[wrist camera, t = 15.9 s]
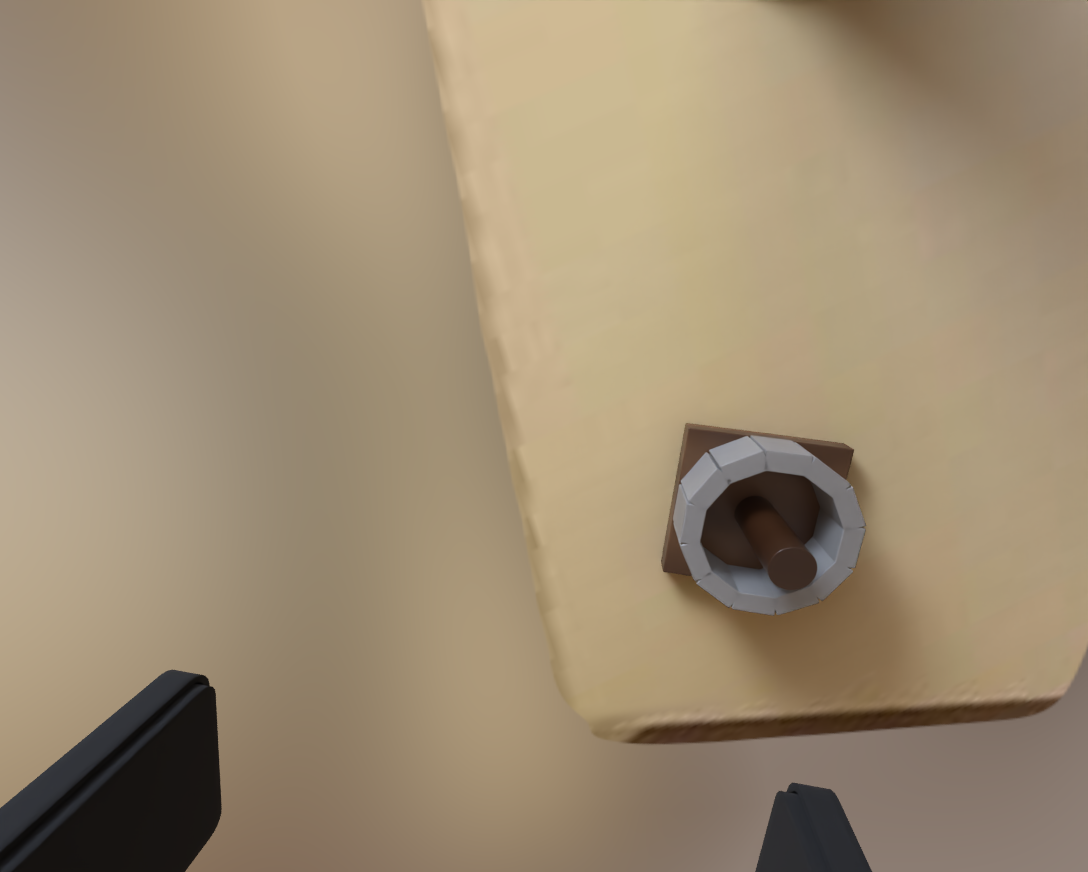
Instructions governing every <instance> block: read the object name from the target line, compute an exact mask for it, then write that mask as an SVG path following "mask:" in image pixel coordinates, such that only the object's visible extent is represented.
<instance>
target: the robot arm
mask: <svg viewBox="0 0 1088 872" xmlns="http://www.w3.org/2000/svg"><path fill="white" fill-rule="evenodd" d="M220 816H221V789H220V770H219V750H218V731H217V712H216V693H215V689H214V688H213V687H210V686H209V681H208V678H207V677H206V676H204V675H199V674H193V673H187V672H182V671H177V670H169V671H166V672H165V673H163V674H162V675H160V676H159V677H158V678H157V679H155V680H154V681H153V682H152V683H150V684H149V685H148V686H147V687H146V688H144V689H143V690H142V691H141V692H140V693H138V694H137V695H136V696H135V697H134V698H132V699H131V700H130V701H129V702H128V703H126V704H125V705H124V706H123V707H122V708H120V709H119V710H118V711H117V712H116V713H114V714H113V715H112V716H111V717H110V718H108V719H107V720H106V721H105V722H104V723H102V724H101V725H100V726H99V727H98V728H96V729H95V730H94V731H93V732H91V733H90V734H89V735H88V736H87V737H86V738H84V739H83V740H82V741H81V742H79V743H78V744H77V745H76V746H75V747H74V748H72V749H71V750H70V751H69V752H67V753H66V754H65V755H64V756H63V757H62V758H60V759H59V760H58V761H57V762H55V763H54V764H53V765H52V766H51V767H49V768H48V769H47V770H46V771H45V772H43V773H42V774H41V775H40V776H39V777H37V778H36V779H35V780H34V781H33V782H31V783H30V784H29V785H28V786H27V787H25V788H24V789H23V790H22V791H20V792H19V793H18V794H17V795H16V796H14V797H13V798H12V799H11V800H10V801H9V802H7V803H6V804H5V805H4V806H2V807H1V808H0V872H185V871H186V869H187V868H188V867H189V865H190V864H191V863H192V861H193V860H194V859H195V857H196V856H197V855H198V853H199V852H200V851H201V849H202V848H203V846H204V845H205V844H206V843H207V841H208V840H209V839H210V837H211V836H212V834H213V833H214V831H215V829H216V827H217V825H218V822H219V819H220ZM755 872H872V871H871V869H870V867H869V864H868V862H867V860H866V858H865V856H864V854H863V851H862V849H861V847H860V845H859V843H858V841H857V839H856V836H855V834H854V832H853V830H852V828H851V826H850V823H849V821H848V819H847V817H846V815H845V813H844V810H843V808H842V806H841V804H840V802H839V800H838V798H837V796H836V795H835V793H834V792H833V791H832V790H830V789H825V788H819V787H814V786H809V785H803V784H798V783H791V784H790V785H789V787H788V790H787V792H783V791H779V792H778V793H777V795H776V797H775V801H774V804H773V808H772V812H771V816H770V819H769V823H768V826H767V830H766V834H765V838H764V842H763V846H762V849H761V853H760V856H759V860H758V864H757V868H756V871H755Z"/></svg>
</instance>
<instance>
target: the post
mask: <svg viewBox="0 0 1088 872" xmlns="http://www.w3.org/2000/svg"><path fill="white" fill-rule="evenodd" d="M751 435H753V436H761V437H769V438H776V439H784V440H791V441H793V442H796V443H797V444H799V445H800V446H802V447H803V448H804V449H806V450H807V451H808V452H810V453H811V454H812V455H814V456H815V457H816V458H818V459H819V460H820V461H821V462H823V463H824V464H825V465H827V466H828V467H829V468H831V469H832V470H833V471H835V472H836V473H837V474H838V475H840V476H841V477H842V478H844V479H845V480H846V479H847V475H848V472H849V468H850V464H851V460H852V456H853V452H854V449H852V448H851V447H849V446H847V445H846V444H844V443H837V442H829V441H821V440H813V439H805V438H798V437H790V436H782V435H774V434H767V433H759V432H751V431H743V430H736V429H728V428H720V427H712V426H705V425H697V424H689V423H686V425H685V430H684V436H683V441H682V447H681V453H680V458H679V464H678V469H677V475H676V481H675V486H674V492H673V498H672V503H671V509H670V514H669V520H668V526H667V531H666V537H665V542H664V548H663V554H662V559H661V563H662V568H663V571H664V572H669V573H676V574H682V575H689V576H692V574H691V572H690V569H689V567H688V565H687V562H686V560H685V557H684V555H683V552H682V550H681V548H680V545H679V541H678V538H677V534H676V531H675V528H674V524H673V523H674V521H673V515H674V510H675V504H676V499H677V493H678V488H679V484H682V483H681V480H682V479H683V478H684V477H685V476H686V474H687V473H688V472H689V471H690V470H691V469H692V468H693V466H694V465H695V464H696V463H697V462H698V461H699V460H700V458H701V457H702V456H703V455H704V454H705V453H706V452H707V453H709V454H710V452H709V450H710V449H713V448H716V447H718V446H721V445H724V444H726V443H729V442H732V441H734V440H737V439H740V438H742V437H745V436H748V437H749V438H750V436H751ZM819 510H820V505H819V503H818V500H817V497H816V494H815V491H814V489H813V486H812V483H811V481H810V480H808V479H807V478H806V477H804V476H800V475H792V474H785V473H778V472H770V471H765V472H762V473H759V474H756V475H754V476H751V477H748V478H745V479H742V480H740V481H737V482H734V483H731V484H730V485H729V486H728V487H727V488H726V489H725V490H724V492H723V493H722V494H721V495H720V496H719V497H718V498H717V499H716V500H715V501H714V503H713V504H712V505H711V506H710V507H709V508H708V509H707V511H706V517H705V522H704V527H703V532H702V537H701V543H702V546H703V547H704V548H706V549H707V550H708V551H710V552H711V553H712V554H714V555H715V556H716V557H718V558H719V559H720V560H722V561H723V562H724V563H726V564H727V565H733V566H740V567H746V568H753V569H762V568H764V569H765V571H766V573H767V574H768V576H769V578H770V580H771V581H772V582H773V583H774V584H775V585H776V586H778V587H779V588H782V589H785V590H799V589H802V588H804V587H806V586H807V585H809V584H810V583H811V582H812V581H813V580H814V578H815V576H816V573H817V562H816V560H815V558H814V556H813V555H812V554H811V553H810V551H809V550H808V549H807V548H806V546H805V544H806V543H807V542H808V541H809V540H810V539H811V538H812V537H813V534H814V530H815V526H816V522H817V518H818V514H819Z"/></svg>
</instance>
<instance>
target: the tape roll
mask: <svg viewBox="0 0 1088 872" xmlns="http://www.w3.org/2000/svg"><path fill="white" fill-rule="evenodd" d="M709 452H710V454H709V453H707V452H706V453H705V454H704V455H703V456H702V457H701V458H700V460H699V461H698V462H697V463H696V464H695V465H694V466H693V468H692V469H691V470H690V471H689V472H688V473H687V474H686V476H685V477H684V478H683V479H682V480H681V483H682V484H679V488H678V493H677V499H676V504H675V510H674V515H673V521H674V523H673V524H674V528H675V531H676V534H677V538H678V541H679V545H680V548H681V550H682V552H683V555H684V557H685V560H686V562H687V565H688V567H689V569H690V572H691V574H692V577H693V579H694V580H695V581H696V583H697V585H699V586H700V587H701V588H703V589H704V590H705V591H707V592H708V593H709V594H711V595H712V596H713V597H715V598H716V599H718V600H719V601H720V602H722V603H723V604H724V605H726V606H727V607H728V608H730V607H732V609H734V610H741V611H747V612H754V613H760V614H766V615H773V616H774V614H775V612H776V614H777V615H781V614H784V613H787V612H791V611H794V610H797V609H801V608H804V607H807V606H810V605H814V604H817V603H819V600H818V598H819V599H820V600H821V601H823V600H824V599H825V598H826V597H827V596H828V595H829V594H830V593H832V592H833V591H834V590H835V589H836V588H837V587H838V586H839V585H840V584H841V583H842V582H843V581H844V580H845V579H846V578H847V577H848V576H849V575H850V574H851V573H852V572H853V570H852V569H851V568H855V567H856V563H857V559H858V556H859V552H860V549H861V545H862V541H863V538H864V534H865V531H866V530H865V528H864V526H866V524H865V521H864V518H863V515H862V512H861V509H860V507H859V504H858V501H857V498H856V495H855V492H854V489H853V487H852V486H851V484H850V483H849V482H848V481H846V480H845V479H844V478H842V477H841V476H840V475H838V474H837V473H836V472H835V471H833V470H832V469H831V468H829V467H828V466H827V465H825V464H824V463H823V462H821V461H820V460H819V459H818V458H816V457H815V456H814V455H812V454H811V453H810V452H808V451H807V450H806V449H804V448H803V447H802V446H800V445H799V444H797V443H796V442H793V441H791V440H784V439H776V438H769V437H761V436H753V435H751V436H750V438H749V437H748V436H745V437H742V438H740V439H737V440H734V441H732V442H729V443H726V444H724V445H721V446H718V447H716V448H713V449H710V450H709ZM765 471H770V472H778V473H785V474H792V475H800V476H804V477H806V478H807V479H808V480H810V481H811V483H812V486H813V489H814V491H815V494H816V497H817V500H818V503H819V505H820V510H819V514H818V518H817V522H816V526H815V530H814V534H813V537H812V538H811V539H810V540H809V541H808V542H807V543H806V544H805V546H806V548H807V549H808V550H809V551H810V553H811V554H812V555H813V556H814V558H815V560H816V562H817V573H816V576H815V578H814V580H813V581H812V582H811V583H810V584H809V585H807V586H806V587H804V588H802V589H799V590H785V589H782V588H779V587H778V586H776V585H775V584H774V583H773V582H772V581H771V580H770V578H769V576H768V574H767V573H766V571H765V569H764V568H762V569H753V568H746V567H740V566H733V565H727V564H726V563H724V562H723V561H722V560H720V559H719V558H718V557H716V556H715V555H714V554H712V553H711V552H710V551H708V550H707V549H706V548H704V547H703V546H702V543H701V537H702V532H703V527H704V522H705V517H706V511H707V509H708V508H709V507H710V506H711V505H712V504H713V503H714V501H715V500H716V499H717V498H718V497H719V496H720V495H721V494H722V493H723V492H724V490H725V489H726V488H727V487H728V486H729V485H730V484H731V483H734V482H737V481H740V480H742V479H745V478H748V477H751V476H754V475H756V474H759V473H762V472H765Z"/></svg>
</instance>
